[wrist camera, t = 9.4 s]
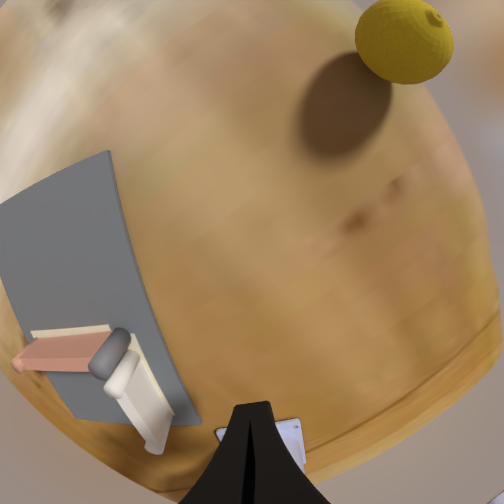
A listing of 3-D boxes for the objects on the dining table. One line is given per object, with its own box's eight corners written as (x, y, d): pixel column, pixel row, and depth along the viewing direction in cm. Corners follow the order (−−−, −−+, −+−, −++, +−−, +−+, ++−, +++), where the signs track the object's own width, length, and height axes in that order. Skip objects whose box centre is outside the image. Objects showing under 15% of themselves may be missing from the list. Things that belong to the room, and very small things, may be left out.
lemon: (372, 108, 15) (445, 76, 7) (323, 44, 14) (366, -21, 6) (420, 81, 14) (490, 52, 7) (376, 23, 13) (428, -28, 5)
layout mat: (202, 421, 22) (195, 462, 17) (77, 415, 22) (61, 443, 18) (110, 150, 16) (67, 145, 11) (-13, 213, 16) (-48, 224, 11)
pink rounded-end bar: (126, 326, 18) (101, 360, 14) (134, 344, 18) (113, 380, 14) (31, 336, 19) (6, 360, 14) (39, 350, 19) (15, 375, 15)
